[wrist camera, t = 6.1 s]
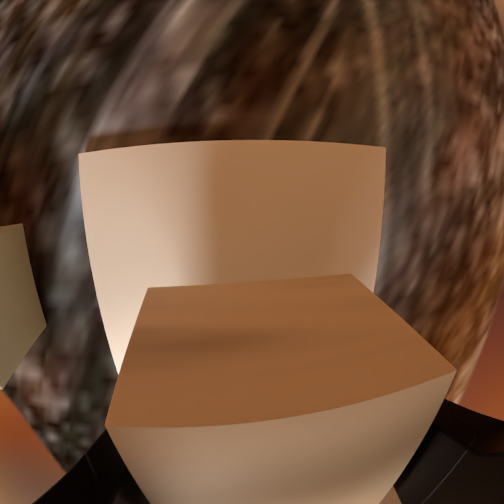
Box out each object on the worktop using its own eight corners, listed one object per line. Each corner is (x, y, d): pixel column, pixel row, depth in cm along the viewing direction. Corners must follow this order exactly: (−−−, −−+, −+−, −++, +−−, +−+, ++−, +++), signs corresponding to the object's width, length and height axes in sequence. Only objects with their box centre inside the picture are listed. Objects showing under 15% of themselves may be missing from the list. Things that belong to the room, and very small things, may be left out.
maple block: (328, 409, 11) (376, 507, 6) (177, 427, 10) (178, 541, 5) (350, 273, 9) (456, 370, 4) (148, 287, 8) (104, 425, 4)
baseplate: (345, 400, 16) (348, 406, 16) (139, 421, 14) (138, 428, 14) (378, 147, 12) (386, 147, 11) (84, 153, 10) (78, 153, 10)
